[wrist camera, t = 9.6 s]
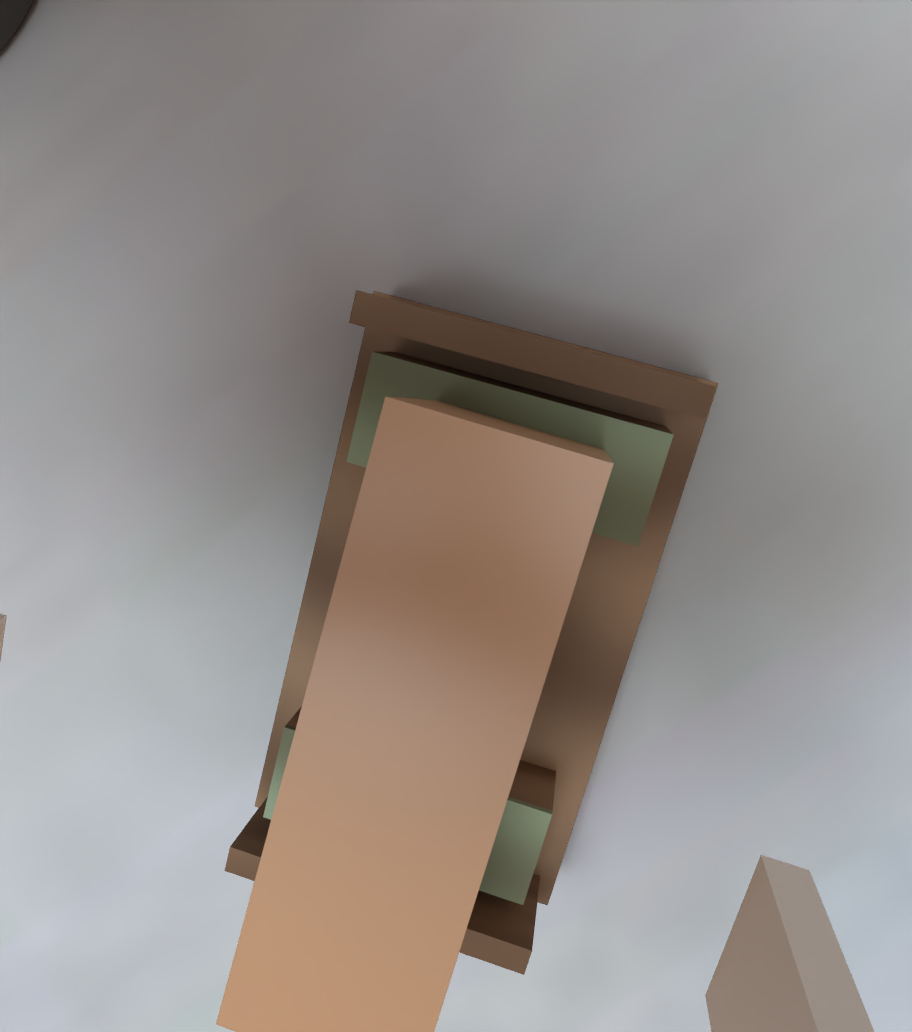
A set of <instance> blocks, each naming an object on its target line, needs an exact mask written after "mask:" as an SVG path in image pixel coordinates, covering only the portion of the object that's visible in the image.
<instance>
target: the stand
mask: <svg viewBox="0 0 912 1032" xmlns="http://www.w3.org/2000/svg"><path fill="white" fill-rule="evenodd" d="M349 323H352V324H356V325H360V326H363V327H365V331H364V336H363V340H362V344H361V349H360V353H359V357H358V362H357V366H356V370H355V375H354V379H353V383H352V387H351V392H350V396H349V400H348V405H347V409H346V413H345V418H344V422H343V426H342V431H341V435H340V439H339V444H338V448H337V452H336V457H335V461H334V465H333V470H332V474H331V478H330V483H329V487H328V491H327V496H326V500H325V504H324V509H323V513H322V517H321V522H320V526H319V530H318V535H317V539H316V543H315V548H314V552H313V556H312V560H311V565H310V569H309V573H308V578H307V582H306V586H305V591H304V595H303V599H302V604H301V608H300V612H299V617H298V621H297V625H296V630H295V634H294V638H293V643H292V647H291V651H290V656H289V660H288V664H287V669H286V673H285V677H284V682H283V686H282V690H281V695H280V699H279V703H278V708H277V712H276V716H275V721H274V725H273V729H272V733H271V738H270V742H269V746H268V751H267V755H266V759H265V764H264V768H263V772H262V777H261V781H260V785H259V790H258V794H257V798H256V803H255V807H258V808H259V809H258V810H257V811H256V813H255V814H254V815H253V817H252V818H251V820H250V821H249V822H248V824H247V825H246V826H245V828H244V829H243V830H242V832H241V833H240V834H239V836H238V837H237V838H236V840H235V841H234V842H233V844H232V845H231V847H230V850H229V854H228V859H227V863H226V868H225V871H227V872H230V873H233V874H236V875H239V876H242V877H245V878H247V879H250V880H253V881H255V878H256V874H257V871H258V867H259V863H260V859H261V856H262V852H263V848H264V845H265V841H266V837H267V834H268V830H269V826H270V822H271V819H272V815H273V811H274V808H275V804H276V800H277V796H278V793H279V789H280V785H281V782H282V778H283V774H284V771H285V767H286V763H287V759H288V756H289V752H290V748H291V745H292V741H293V737H294V734H295V730H296V726H297V722H298V719H299V715H300V711H301V708H302V704H303V700H304V696H305V693H306V689H307V685H308V682H309V678H310V674H311V671H312V667H313V663H314V659H315V656H316V652H317V648H318V645H319V641H320V637H321V634H322V630H323V626H324V622H325V619H326V615H327V611H328V608H329V604H330V600H331V596H332V593H333V589H334V585H335V582H336V578H337V574H338V571H339V567H340V563H341V559H342V556H343V552H344V548H345V545H346V541H347V537H348V533H349V530H350V526H351V522H352V519H353V515H354V511H355V508H356V504H357V500H358V496H359V493H360V489H361V485H362V482H363V478H364V474H365V471H366V467H367V463H368V459H369V456H370V452H371V448H372V445H373V441H374V437H375V433H376V430H377V426H378V422H379V419H380V415H381V411H382V408H383V404H384V400H385V396H386V397H400V398H413V399H426V400H437V401H441V402H444V403H447V404H451V405H454V406H458V407H461V408H465V409H468V410H471V411H475V412H478V413H482V414H485V415H488V416H492V417H495V418H499V419H502V420H505V421H509V422H512V423H516V424H519V425H523V426H526V427H529V428H533V429H536V430H540V431H543V432H546V433H550V434H553V435H557V436H560V437H563V438H567V439H570V440H574V441H577V442H581V443H584V444H587V445H591V446H594V447H598V448H601V449H604V450H605V451H606V453H607V454H608V456H609V457H610V459H611V460H612V462H613V463H614V464H613V467H612V470H611V474H610V477H609V480H608V483H607V486H606V489H605V493H604V496H603V499H602V502H601V505H600V508H599V512H598V515H597V518H596V521H595V524H594V527H593V531H592V534H591V537H590V540H589V543H588V546H587V550H586V553H585V556H584V559H583V562H582V565H581V568H580V572H579V575H578V578H577V581H576V584H575V587H574V591H573V594H572V597H571V600H570V603H569V606H568V610H567V613H566V616H565V619H564V622H563V625H562V629H561V632H560V635H559V638H558V641H557V644H556V648H555V651H554V654H553V657H552V660H551V663H550V667H549V670H548V673H547V676H546V679H545V682H544V685H543V689H542V692H541V695H540V698H539V701H538V704H537V708H536V711H535V714H534V717H533V720H532V723H531V727H530V730H529V733H528V736H527V739H526V742H525V746H524V749H523V752H522V755H521V758H520V761H519V765H518V768H517V771H516V774H515V777H514V780H513V784H512V787H511V790H510V793H509V796H508V799H507V802H506V806H505V809H504V812H503V815H502V818H501V821H500V825H499V828H498V831H497V834H496V837H495V840H494V844H493V847H492V850H491V853H490V856H489V859H488V863H487V866H486V869H485V872H484V875H483V878H482V882H481V885H480V888H479V891H478V894H477V897H476V901H475V904H474V907H473V910H472V913H471V916H470V919H469V923H468V926H467V929H466V932H465V935H464V938H463V942H462V945H461V948H460V951H459V952H460V953H463V954H466V955H469V956H472V957H475V958H478V959H480V960H483V961H486V962H489V963H492V964H495V965H498V966H501V967H503V968H506V969H509V970H512V971H515V972H518V973H521V974H524V973H525V970H526V967H527V964H528V961H529V958H530V955H531V952H532V945H533V936H534V926H535V917H536V908H537V902H539V903H542V904H545V905H548V902H549V899H550V896H551V893H552V890H553V887H554V884H555V881H556V877H557V874H558V871H559V868H560V865H561V862H562V859H563V856H564V853H565V850H566V847H567V844H568V841H569V838H570V835H571V832H572V829H573V826H574V822H575V819H576V816H577V813H578V810H579V807H580V804H581V801H582V798H583V795H584V792H585V789H586V786H587V783H588V780H589V777H590V774H591V771H592V767H593V764H594V761H595V758H596V755H597V752H598V749H599V746H600V743H601V740H602V737H603V734H604V731H605V728H606V725H607V722H608V719H609V716H610V713H611V709H612V706H613V703H614V700H615V697H616V694H617V691H618V688H619V685H620V682H621V679H622V676H623V673H624V670H625V667H626V664H627V661H628V658H629V654H630V651H631V648H632V645H633V642H634V639H635V636H636V633H637V630H638V627H639V624H640V621H641V618H642V615H643V612H644V609H645V606H646V603H647V600H648V596H649V593H650V590H651V587H652V584H653V581H654V578H655V575H656V572H657V569H658V566H659V563H660V560H661V557H662V554H663V551H664V548H665V545H666V541H667V538H668V535H669V532H670V529H671V526H672V523H673V520H674V517H675V514H676V511H677V508H678V505H679V502H680V499H681V496H682V493H683V490H684V486H685V483H686V480H687V477H688V474H689V471H690V468H691V465H692V462H693V459H694V456H695V453H696V450H697V447H698V444H699V441H700V438H701V435H702V432H703V428H704V425H705V422H706V419H707V416H708V413H709V410H710V407H711V404H712V401H713V398H714V395H715V392H716V389H717V386H718V383H716V382H712V381H708V380H705V379H701V378H697V377H694V376H690V375H686V374H682V373H679V372H675V371H671V370H667V369H664V368H660V367H656V366H652V365H649V364H645V363H641V362H637V361H634V360H630V359H626V358H623V357H619V356H615V355H611V354H608V353H604V352H600V351H596V350H593V349H589V348H585V347H581V346H578V345H574V344H570V343H566V342H563V341H559V340H555V339H552V338H548V337H544V336H540V335H537V334H533V333H529V332H525V331H522V330H518V329H514V328H510V327H507V326H503V325H499V324H495V323H492V322H488V321H484V320H481V319H477V318H473V317H469V316H466V315H462V314H458V313H454V312H451V311H447V310H443V309H439V308H436V307H432V306H428V305H425V304H421V303H417V302H413V301H410V300H406V299H402V298H398V297H395V296H391V295H387V294H383V293H380V292H376V291H374V292H373V295H372V294H369V293H365V292H361V291H357V290H356V294H355V298H354V303H353V307H352V312H351V316H350V321H349Z"/></svg>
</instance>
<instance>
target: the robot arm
mask: <svg viewBox="0 0 912 1032" xmlns="http://www.w3.org/2000/svg"><path fill="white" fill-rule="evenodd" d="M32 2H33V0H0V50H1V49H2V48H3V47H4V46H5V44H6V43H7V42H8V40H9V39H10V38H11V36H12V35H13V34H14V32H15V31H16V29H17V28H18V26H19V25H20V23H21V21H22V20H23V18H24V17H25V15H26V13H27V11H28V9H29V8H30V6H31V4H32ZM5 623H6V615H3V614H0V660H1V653H2V646H3V638H4V631H5ZM705 996H706V1001H707V1007H708V1013H709V1019H710V1025H711V1031H712V1032H874V1030H873V1027H872V1025H871V1022H870V1020H869V1017H868V1015H867V1012H866V1010H865V1007H864V1005H863V1002H862V1000H861V998H860V995H859V993H858V990H857V988H856V985H855V983H854V980H853V978H852V975H851V973H850V970H849V968H848V965H847V963H846V960H845V958H844V955H843V953H842V950H841V948H840V945H839V943H838V940H837V938H836V935H835V933H834V930H833V928H832V926H831V923H830V921H829V918H828V916H827V913H826V911H825V908H824V906H823V903H822V901H821V898H820V896H819V893H818V891H817V888H816V886H815V883H814V881H813V878H812V876H811V873H810V871H809V870H807V869H803V868H800V867H797V866H794V865H791V864H788V863H785V862H781V861H778V860H775V859H772V858H769V857H766V856H763V855H761V857H760V859H759V862H758V864H757V867H756V869H755V872H754V874H753V877H752V879H751V882H750V884H749V887H748V889H747V892H746V894H745V897H744V899H743V902H742V904H741V907H740V910H739V912H738V915H737V917H736V920H735V922H734V925H733V927H732V930H731V932H730V935H729V937H728V940H727V942H726V945H725V947H724V950H723V952H722V955H721V957H720V960H719V963H718V965H717V968H716V970H715V973H714V975H713V978H712V980H711V983H710V985H709V988H708V990H707V993H706V995H705Z"/></svg>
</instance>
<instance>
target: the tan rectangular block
mask: <svg viewBox="0 0 912 1032" xmlns="http://www.w3.org/2000/svg"><path fill="white" fill-rule="evenodd" d="M613 464H614V463H613V462H612V460H611V459H610V457H609V456H608V454H607V453H606V451H605V450H604V449H601V448H598V447H594V446H591V445H587V444H584V443H581V442H577V441H574V440H570V439H567V438H563V437H560V436H557V435H553V434H550V433H546V432H543V431H540V430H536V429H533V428H529V427H526V426H523V425H519V424H516V423H512V422H509V421H505V420H502V419H499V418H495V417H492V416H488V415H485V414H482V413H478V412H475V411H471V410H468V409H465V408H461V407H458V406H454V405H451V404H447V403H444V402H441V401H437V400H426V399H413V398H400V397H386V396H385V400H384V404H383V408H382V411H381V415H380V419H379V422H378V426H377V430H376V433H375V437H374V441H373V445H372V448H371V452H370V456H369V459H368V463H367V467H366V471H365V474H364V478H363V482H362V485H361V489H360V493H359V496H358V500H357V504H356V508H355V511H354V515H353V519H352V522H351V526H350V530H349V533H348V537H347V541H346V545H345V548H344V552H343V556H342V559H341V563H340V567H339V571H338V574H337V578H336V582H335V585H334V589H333V593H332V596H331V600H330V604H329V608H328V611H327V615H326V619H325V622H324V626H323V630H322V634H321V637H320V641H319V645H318V648H317V652H316V656H315V659H314V663H313V667H312V671H311V674H310V678H309V682H308V685H307V689H306V693H305V696H304V700H303V704H302V708H301V711H300V715H299V719H298V722H297V726H296V730H295V734H294V737H293V741H292V745H291V748H290V752H289V756H288V759H287V763H286V767H285V771H284V774H283V778H282V782H281V785H280V789H279V793H278V796H277V800H276V804H275V808H274V811H273V815H272V819H271V822H270V826H269V830H268V834H267V837H266V841H265V845H264V848H263V852H262V856H261V859H260V863H259V867H258V871H257V874H256V878H255V882H254V885H253V889H252V893H251V896H250V900H249V904H248V908H247V911H246V915H245V919H244V922H243V926H242V930H241V934H240V937H239V941H238V945H237V948H236V952H235V956H234V959H233V963H232V967H231V971H230V974H229V978H228V982H227V985H226V989H225V993H224V996H223V1000H222V1004H221V1008H220V1011H219V1015H218V1019H217V1022H216V1024H217V1025H220V1026H222V1027H225V1028H227V1029H230V1030H233V1031H235V1032H434V1030H435V1027H436V1024H437V1021H438V1018H439V1014H440V1011H441V1008H442V1005H443V1002H444V999H445V995H446V992H447V989H448V986H449V983H450V980H451V976H452V973H453V970H454V967H455V964H456V961H457V957H458V954H459V951H460V948H461V945H462V942H463V938H464V935H465V932H466V929H467V926H468V923H469V919H470V916H471V913H472V910H473V907H474V904H475V901H476V897H477V894H478V891H479V888H480V885H481V882H482V878H483V875H484V872H485V869H486V866H487V863H488V859H489V856H490V853H491V850H492V847H493V844H494V840H495V837H496V834H497V831H498V828H499V825H500V821H501V818H502V815H503V812H504V809H505V806H506V802H507V799H508V796H509V793H510V790H511V787H512V784H513V780H514V777H515V774H516V771H517V768H518V765H519V761H520V758H521V755H522V752H523V749H524V746H525V742H526V739H527V736H528V733H529V730H530V727H531V723H532V720H533V717H534V714H535V711H536V708H537V704H538V701H539V698H540V695H541V692H542V689H543V685H544V682H545V679H546V676H547V673H548V670H549V667H550V663H551V660H552V657H553V654H554V651H555V648H556V644H557V641H558V638H559V635H560V632H561V629H562V625H563V622H564V619H565V616H566V613H567V610H568V606H569V603H570V600H571V597H572V594H573V591H574V587H575V584H576V581H577V578H578V575H579V572H580V568H581V565H582V562H583V559H584V556H585V553H586V550H587V546H588V543H589V540H590V537H591V534H592V531H593V527H594V524H595V521H596V518H597V515H598V512H599V508H600V505H601V502H602V499H603V496H604V493H605V489H606V486H607V483H608V480H609V477H610V474H611V470H612V467H613Z"/></svg>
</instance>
